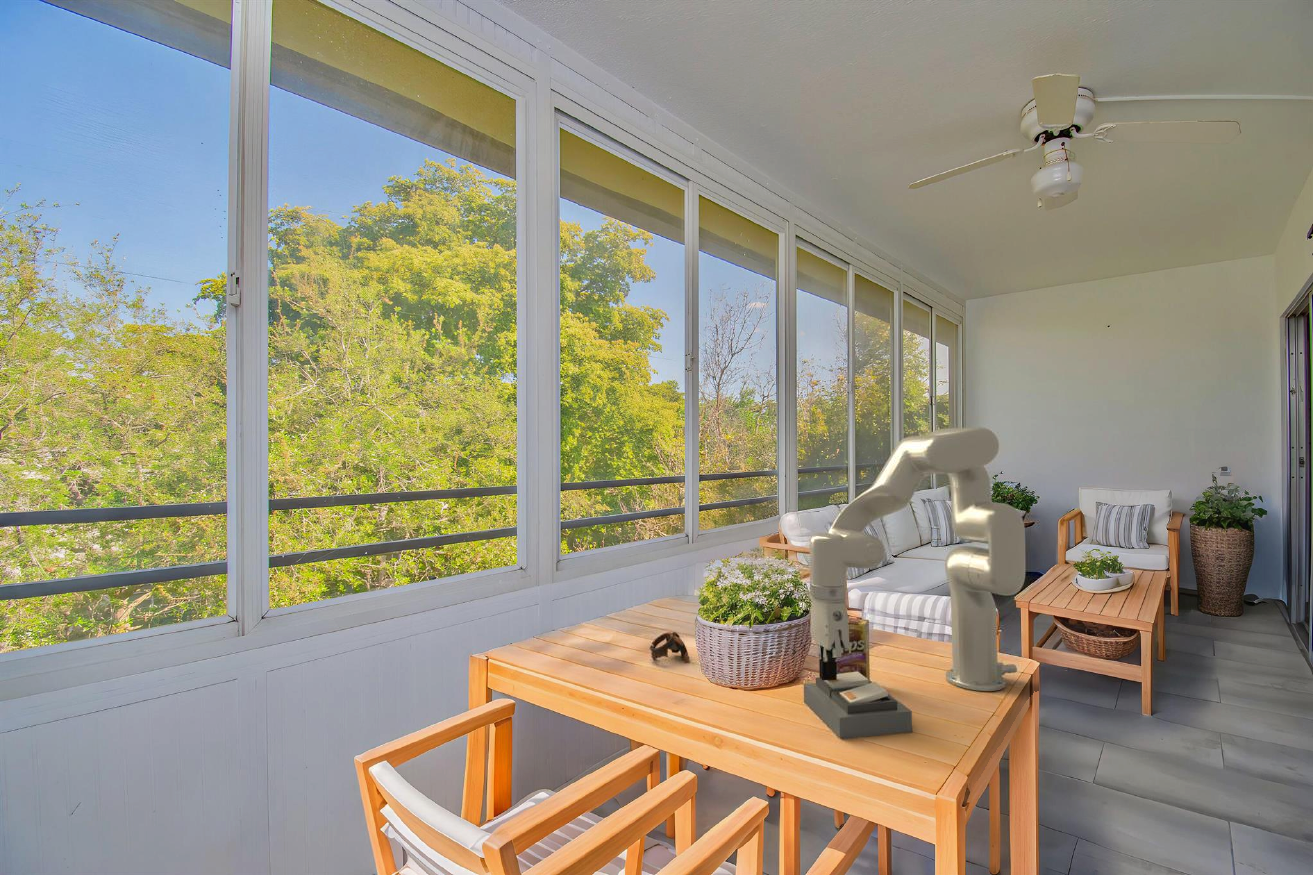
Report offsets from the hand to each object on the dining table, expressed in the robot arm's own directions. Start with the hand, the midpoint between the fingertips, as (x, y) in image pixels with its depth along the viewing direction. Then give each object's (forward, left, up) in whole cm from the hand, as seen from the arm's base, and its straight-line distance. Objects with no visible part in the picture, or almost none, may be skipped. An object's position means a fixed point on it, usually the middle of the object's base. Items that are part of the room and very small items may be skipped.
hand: (827, 678), depth 135 cm
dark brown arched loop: (+27, -39, -7) cm, 48 cm away
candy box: (-11, -13, -7) cm, 18 cm away
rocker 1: (-4, 0, -1) cm, 4 cm away
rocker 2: (-4, +8, -1) cm, 9 cm away
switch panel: (-4, +4, -7) cm, 9 cm away
